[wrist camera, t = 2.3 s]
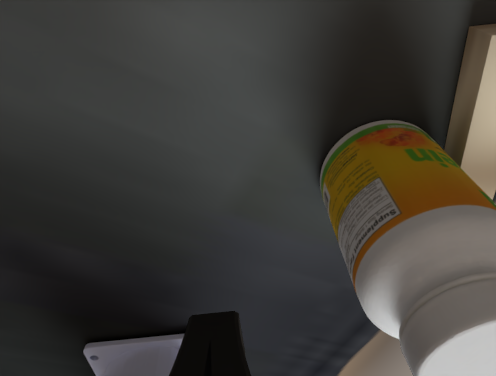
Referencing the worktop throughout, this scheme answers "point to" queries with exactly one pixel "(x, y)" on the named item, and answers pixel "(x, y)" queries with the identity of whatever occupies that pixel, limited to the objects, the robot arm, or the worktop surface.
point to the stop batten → (476, 110)
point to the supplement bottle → (416, 245)
